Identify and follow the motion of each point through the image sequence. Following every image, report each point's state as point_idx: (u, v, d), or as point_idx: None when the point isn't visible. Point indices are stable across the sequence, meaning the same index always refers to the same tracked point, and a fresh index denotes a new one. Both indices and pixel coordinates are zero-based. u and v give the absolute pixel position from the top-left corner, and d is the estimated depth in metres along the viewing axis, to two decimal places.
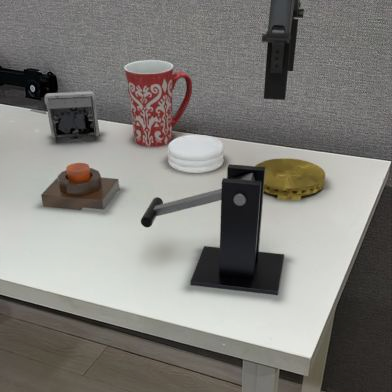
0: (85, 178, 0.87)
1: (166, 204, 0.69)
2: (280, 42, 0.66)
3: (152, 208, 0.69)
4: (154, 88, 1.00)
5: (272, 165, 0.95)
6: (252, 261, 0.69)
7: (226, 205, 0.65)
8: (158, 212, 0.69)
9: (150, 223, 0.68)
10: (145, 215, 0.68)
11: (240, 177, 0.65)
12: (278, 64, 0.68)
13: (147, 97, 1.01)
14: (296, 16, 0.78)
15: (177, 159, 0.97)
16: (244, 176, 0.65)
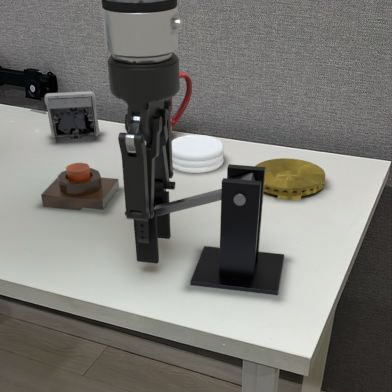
0: (85, 178, 0.87)
1: (166, 204, 0.69)
2: None
3: None
4: None
5: (272, 165, 0.95)
6: (252, 261, 0.69)
7: (226, 205, 0.65)
8: (158, 212, 0.69)
9: None
10: None
11: (240, 177, 0.65)
12: (144, 236, 0.67)
13: None
14: (166, 187, 0.71)
15: (177, 159, 0.97)
16: (244, 176, 0.65)
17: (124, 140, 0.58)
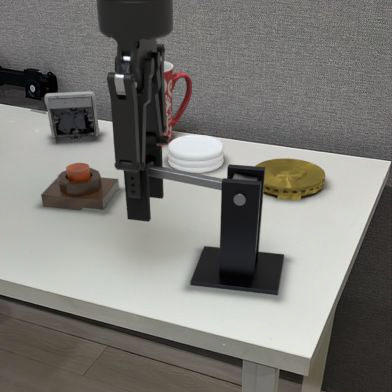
0: (85, 178, 0.87)
1: (162, 168, 0.66)
2: (133, 171, 0.62)
3: None
4: None
5: (272, 165, 0.95)
6: (252, 261, 0.69)
7: (226, 205, 0.65)
8: (151, 172, 0.66)
9: None
10: None
11: (245, 177, 0.65)
12: (135, 190, 0.64)
13: None
14: (159, 141, 0.68)
15: (177, 159, 0.97)
16: (249, 178, 0.65)
17: (113, 80, 0.54)
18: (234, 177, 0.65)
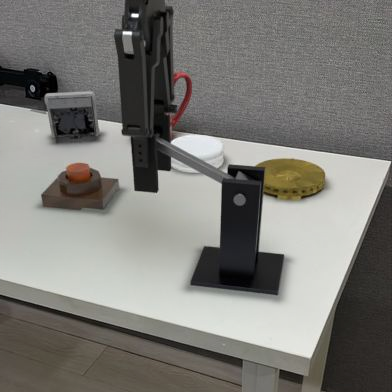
0: (85, 178, 0.87)
1: (169, 145, 0.64)
2: (140, 137, 0.59)
3: None
4: None
5: (272, 165, 0.95)
6: (252, 261, 0.69)
7: (226, 205, 0.65)
8: (157, 145, 0.64)
9: None
10: None
11: (248, 178, 0.65)
12: (143, 158, 0.61)
13: None
14: (167, 110, 0.65)
15: None
16: None
17: (121, 37, 0.52)
18: (238, 175, 0.65)
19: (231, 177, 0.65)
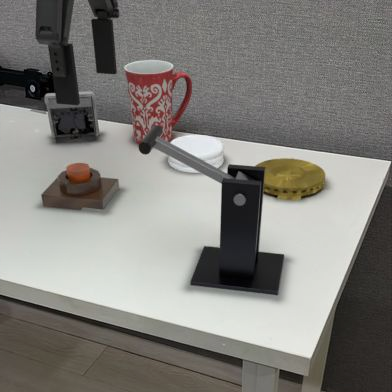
0: (85, 178, 0.87)
1: (169, 144, 0.64)
2: (55, 44, 0.62)
3: (155, 137, 0.63)
4: (154, 88, 1.00)
5: (272, 165, 0.95)
6: (252, 261, 0.69)
7: (226, 205, 0.65)
8: (157, 145, 0.64)
9: (147, 152, 0.62)
10: (148, 141, 0.62)
11: (248, 178, 0.65)
12: (59, 67, 0.64)
13: (147, 97, 1.01)
14: (110, 16, 0.74)
15: None
16: None
17: None
18: (238, 175, 0.65)
19: (231, 177, 0.65)
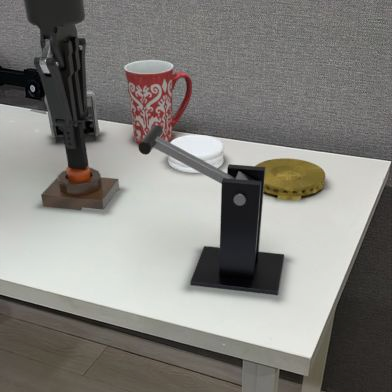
0: (85, 179, 0.87)
1: (169, 144, 0.64)
2: (67, 126, 0.81)
3: (155, 137, 0.63)
4: (154, 88, 1.00)
5: (272, 165, 0.95)
6: (252, 261, 0.69)
7: (226, 205, 0.65)
8: (157, 145, 0.64)
9: (147, 152, 0.62)
10: (148, 141, 0.62)
11: (248, 178, 0.65)
12: (71, 142, 0.83)
13: (147, 97, 1.01)
14: (80, 117, 0.83)
15: None
16: None
17: (39, 64, 0.72)
18: (238, 175, 0.65)
19: (231, 177, 0.65)
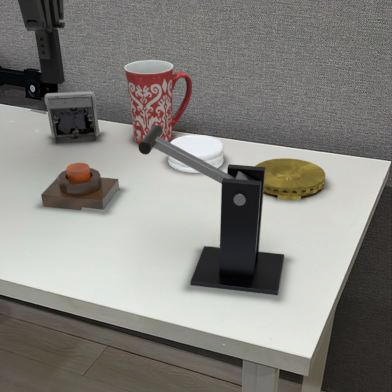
0: (85, 178, 0.87)
1: (169, 144, 0.64)
2: (41, 31, 0.73)
3: (155, 137, 0.63)
4: (154, 88, 1.00)
5: (272, 165, 0.95)
6: (252, 261, 0.69)
7: (226, 205, 0.65)
8: (157, 145, 0.64)
9: (147, 152, 0.62)
10: (148, 141, 0.62)
11: (248, 178, 0.65)
12: (45, 51, 0.75)
13: (147, 97, 1.01)
14: (55, 24, 0.75)
15: None
16: None
17: None
18: (238, 175, 0.65)
19: (231, 177, 0.65)
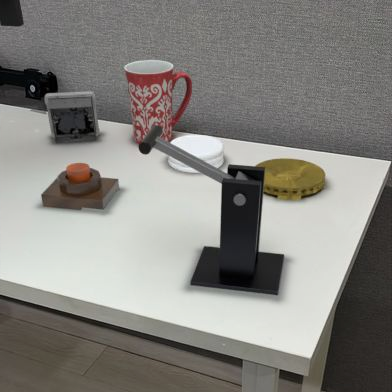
0: (85, 178, 0.87)
1: (169, 144, 0.64)
2: None
3: (155, 137, 0.63)
4: (154, 88, 1.00)
5: (272, 165, 0.95)
6: (252, 261, 0.69)
7: (226, 205, 0.65)
8: (157, 145, 0.64)
9: (147, 152, 0.62)
10: (148, 141, 0.62)
11: (248, 178, 0.65)
12: None
13: (147, 97, 1.01)
14: None
15: None
16: None
17: None
18: (238, 175, 0.65)
19: (231, 177, 0.65)
